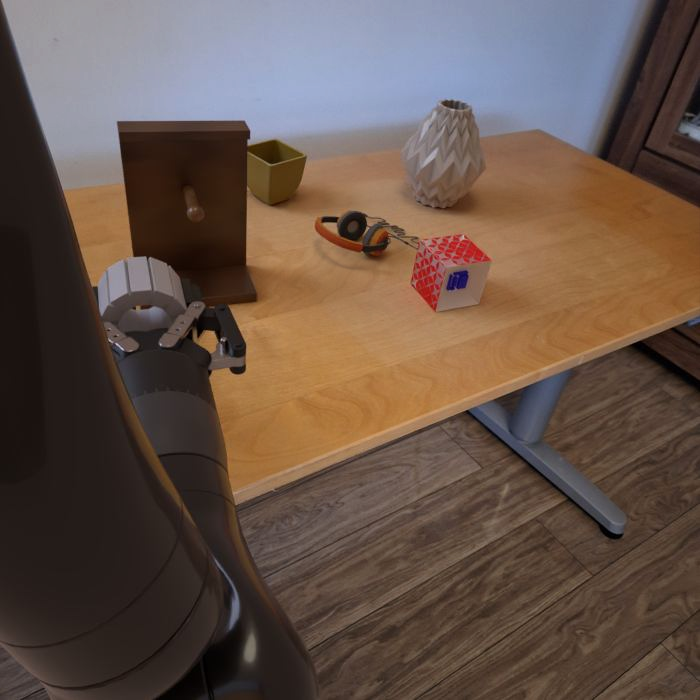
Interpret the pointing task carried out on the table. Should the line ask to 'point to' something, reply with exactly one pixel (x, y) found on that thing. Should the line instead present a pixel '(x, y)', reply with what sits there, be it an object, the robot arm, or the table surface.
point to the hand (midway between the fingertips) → (140, 291)
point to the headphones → (358, 233)
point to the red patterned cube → (450, 272)
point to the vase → (444, 155)
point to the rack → (190, 201)
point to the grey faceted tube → (140, 295)
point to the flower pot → (274, 170)
